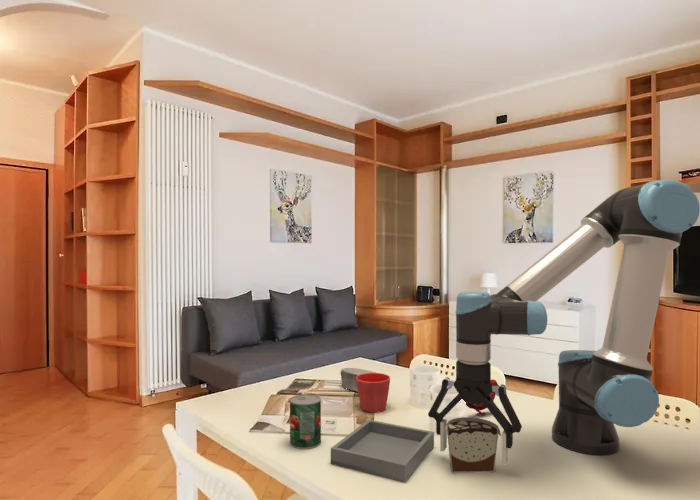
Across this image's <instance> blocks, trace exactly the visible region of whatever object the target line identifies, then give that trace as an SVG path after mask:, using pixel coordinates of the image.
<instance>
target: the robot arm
mask: <svg viewBox="0 0 700 500" xmlns="http://www.w3.org/2000/svg"><path fill="white" fill-rule="evenodd" d="M699 216H700V202H699V199H698V197H697V195H696V193H694V192H693V190H692V188H691V187H689V186H688V185H687V184H685V183H683V182H681V181H680V180H676V179H656V180H651V181H648V182H646V183H642V184H639V185H635V186H630V187H625V188H623V189H619V190H617V191H616V192H614V193H613V194H611V195H610V196H608V197H607V198H606V199H605V200H603V201H602V202H601V203H600V204H598V205H597V206H596V207H595V208H594V209H593V210H592V211H590V212H589V213H587V214H586V215H585V216H584V217H582V219H581V220H580V225H579V227H577V228H575V229H574V230H573V231H572V232H571V233H569V234H568V236H566V237H564V238H563V239H562V240H561V241H560V242H558V243H557V244H556V245H555V246H554V247H553V248H551V249H550V250H548V251H547V252H546V253H545V254H544V255H543V256H542V257H540V258H539V259H538V260H536V262H534V263H533V264H532V265H531V266H529V267H528V268H527V269H526V270H524V271H523V272H521V274H519V275H518V276H517V277H516V278H515V279H513V280H512V281H511V282H510V283H508V284H507V285H506V286H505V287H503V288H502V289H500V290H499V291H498V292H496V293H493V294H490V293H489V292H485V291H461V292H459V293H458V295H457V296H456V306H455V307H456V308H455V320H456V321H455V323H456V324H455V326H456V327H455V329H456V331H455V332H456V334H455V336H456V341H455V351H456V352H455V357H456V359H457V361H455V380H453V379H450V377H449V376H447V377H445V378H444V379H442V380H441V388H440V390H439V392H438V394H437V396H436V398H435V400H434V402H433V403H432V405H431V407H430V409H429V411H428V413H427V414H428V415H427V416H428V417H429V418H431V419H432V418H433V419H434V420H435V427H436V429H435V431H436V432H435V433H436V435H437V436H440V439H439V442H440V443H439V444H440V447H439V449H440V452H444V453H445V450H447V447H448V445H447V443H448V436H447V432H446V436H445V435H444V432H445V427H446V425H447V422H448V421H447V420H448V419H447V418H446V416H447V415H448V414H449V413H450V412H451V411H452V410H453V408H454V407H456V405H457V404H458V403H460V402H459V401H460V400H461V399H463V400H464V401H465V402H467V403H470V402H473V403H475V404H480V403H483V404H484V406H485V407H486V409H488V412H489V413H490V414H491V415H492V416H493V417H494V419H495V420H496V421H497V423H498V424H499V426H500V427H501V428H502V429H503V431H502V433H501V464H502V465H505V466H506V465H507V463H508V460H509V457H508V456H509V455H508V450H509V449H510V450H511V449H512V447H513V443H514V433H517V434H520V433H521V430H522V427H523V426H522V423H521V422H520V420H519V417H518V416H517V413H516V412H515V409H514V407H513V405H512V402H511V401H510V399H509V397H508V394H507V387H506V385H505V384H503V383H502V384H499V386H492V384H491V380H492V379H491V374H492V372H491V370H492V367H491V363H490V362H489V361H491V359H492V355H491V352H492V351H491V350H492V349H491V345H492V344H491V341H492V338H491V337H492V335H496V336H497V335H512V336H515V335H518V336H519V335H520V336H521V335H522V336H524V335H525V336H533V335H534V336H535V335H541V334H544V332H545V331H546V330H547V329H546V328H547V326H548V313H547V309H546V307H545V305H544V304H543V303H542V302H540V301H539V300H540V299H541V298H543V297H544V296H545V295H547V294H548V293H549V292H550V291H551V290H552V289H554V288H555V287H556V286H558V284H560V283H561V282H562V281H564V280H565V279H566V278H567V277H569V276H570V275H571V274H572V273H573V272H575V271H576V270H577V269H578V268H580V267H581V266H582V265H584V264H585V263H586V262H587V261H588V260H590V259H591V258H592V257H593V256H595V255H596V254H597V253H599V252H600V251H601V250H602V249H603V248H611V247H613V246H614V245H615V244H616V243H618V242H621V243H622V244H623V250H622V254H621V259H620V264H619V269H618V273H617V278H616V282H615V286H614V287H615V288H614V291H613V296H612V301H611V306H610V308H609V315H608V319H607V324H606V329H605V333H604V336H603V337H604V338H603V343H602V346H601V347H600V348H599V349H598V350H586V349H585V350H582V349H581V350H580V349H572V350H571V349H570V350H567V349H566V350H563V351H560V353H559V355H558V363H557V367H558V410H557V412H556V415H555V418H554V421H553V423H552V426H551V439H552V440H553V441H554V442H555V443H556V444H558V445H559V446H561V447H563V448H565V449H568V450H570V451H575V452H578V453H582V454H589V455H600V456H603V455H612V454H615V453H617V452H618V451H619V450H620V437H619V435H618V432H617V428H616V426H619V427H623V428H634V427H640V426H641V425H643V424H644V423H647V422H648V421H650V420H651V419H652V418H653V416H654V415H655V414H656V412H657V410H658V408H659V404H660V396H659V392H658V390H657V389H656V388H655V385H654V384H653V383H652V381H651V380H652V377H653V370H654V368H653V366H652V365H651V364H650V362H649V361H648V359H647V357H648V354H649V349H650V343H651V340H652V335H653V331H654V325H655V321H656V317H657V312H658V307H659V303H660V302H659V301H660V296H661V294H662V293H661V292H662V288H663V285H664V284H663V282H664V279H665V274H666V269H667V265H668V262H669V261H668V260H669V255H670V252H672V251H674V249H677V248H678V247H679V246H680V245H681V241H682V240H681V239H682V236H683V232H685V231H688V230H689V229H690V228H691V227H693V226H694V225H695V224H696V223H697V221H698V219H699ZM452 387H454V389H455V390H456V392H457V394H456V395H455V396H454V398H452V399H453V400H451V401H450V402H449V403H448V404H447V405H446V406H445V407H444V408H443V409H442V410H441V411H440V412H438V411H439V408H440V407H441V405H442V403H443V400H444V399H445V397H446V395H447V393H448V391H449V390H450V389H452ZM492 391H493V392H495V393H496V395H495V396H496V397H498V398H499V401H500V404H501V406H502V407H503V409H504V412H505V414H506V416H507V417H506V416H505V414H504V413H503V412H502V411H501V410H500V408H499V407H498V406H497V405H496V404H497V403H495V402H494V401H493V399H492V398H491V397H490V394H491V392H492ZM507 418H508V419H507ZM615 425H616V426H615Z"/></svg>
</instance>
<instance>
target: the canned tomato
mask: <svg viewBox="0 0 700 500" xmlns="http://www.w3.org/2000/svg"><path fill="white" fill-rule="evenodd" d="M321 400H322V398H321V397H320V396H319V395H316V394H310V393H309V394H307V393H306V394H305V393H304V394H297V395H294V396H292V397H290V398H289V445H290V446H291V447H292V448H295V449H297V450H310V449H311V450H312V449H315V448H317V447H319V446H321V444H322V427H321V426H322V415H321V414H322V407H321V406H322V404H321V403H322V401H321Z"/></svg>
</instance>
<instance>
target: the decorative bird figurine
mask: <svg viewBox="0 0 700 500" xmlns="http://www.w3.org/2000/svg"><path fill="white" fill-rule="evenodd" d="M491 384H492V386H500V384H499V383H498V382H497V380H495V379H491ZM496 396H497V395H496V393H495V392H493V391H492V392H491V394H490V397H491V398H492V399H493V402H494V400H495V398H496ZM465 406H467V408H469V409H470V410H471V409H473V410H475V411H476V412H477V413H476V414H475V416H485V415H486V414H488V413H490V411H483V410H486V409H487V408H486V407H485V406H484V404H483V403H480V404H475V403H473V402H470V403H467V402H466V405H465Z"/></svg>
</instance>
